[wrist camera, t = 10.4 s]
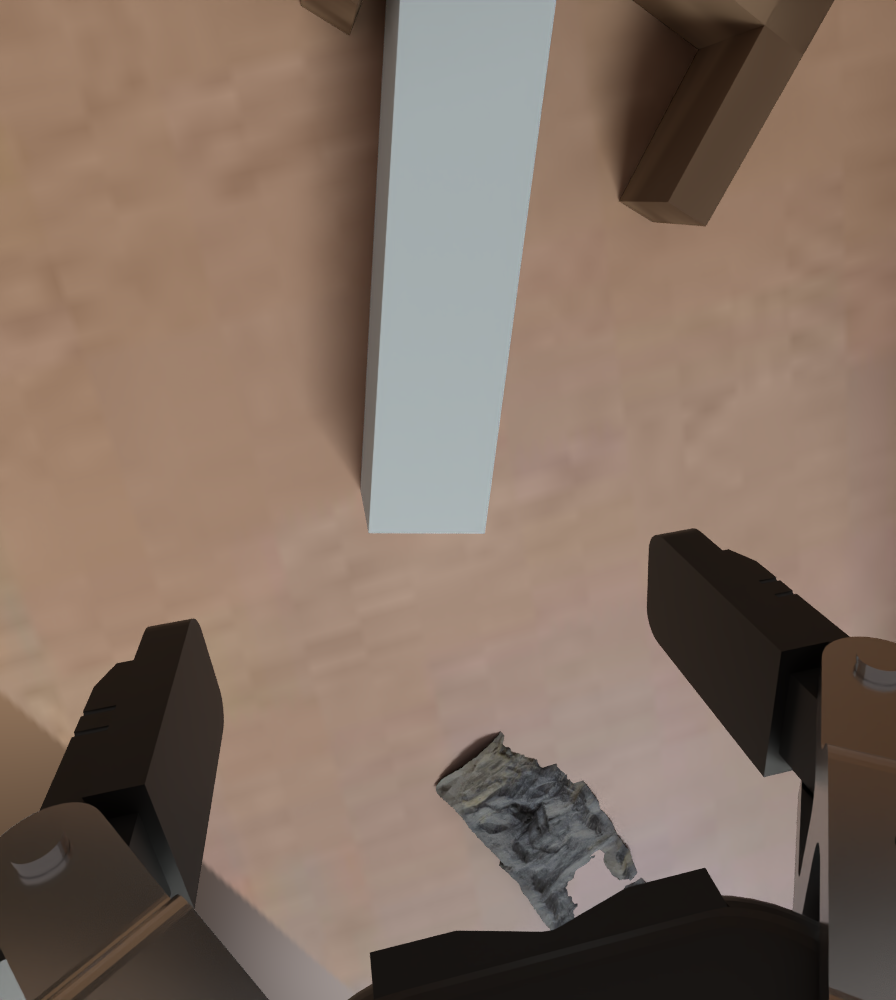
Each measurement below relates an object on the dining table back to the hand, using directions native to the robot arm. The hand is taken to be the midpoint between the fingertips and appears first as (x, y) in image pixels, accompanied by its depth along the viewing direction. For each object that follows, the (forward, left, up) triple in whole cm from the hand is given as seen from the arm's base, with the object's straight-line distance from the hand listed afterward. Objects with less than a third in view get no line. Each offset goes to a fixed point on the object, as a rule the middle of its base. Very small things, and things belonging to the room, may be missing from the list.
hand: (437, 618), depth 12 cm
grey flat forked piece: (-20, +19, -15) cm, 32 cm away
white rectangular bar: (0, -5, -14) cm, 15 cm away
